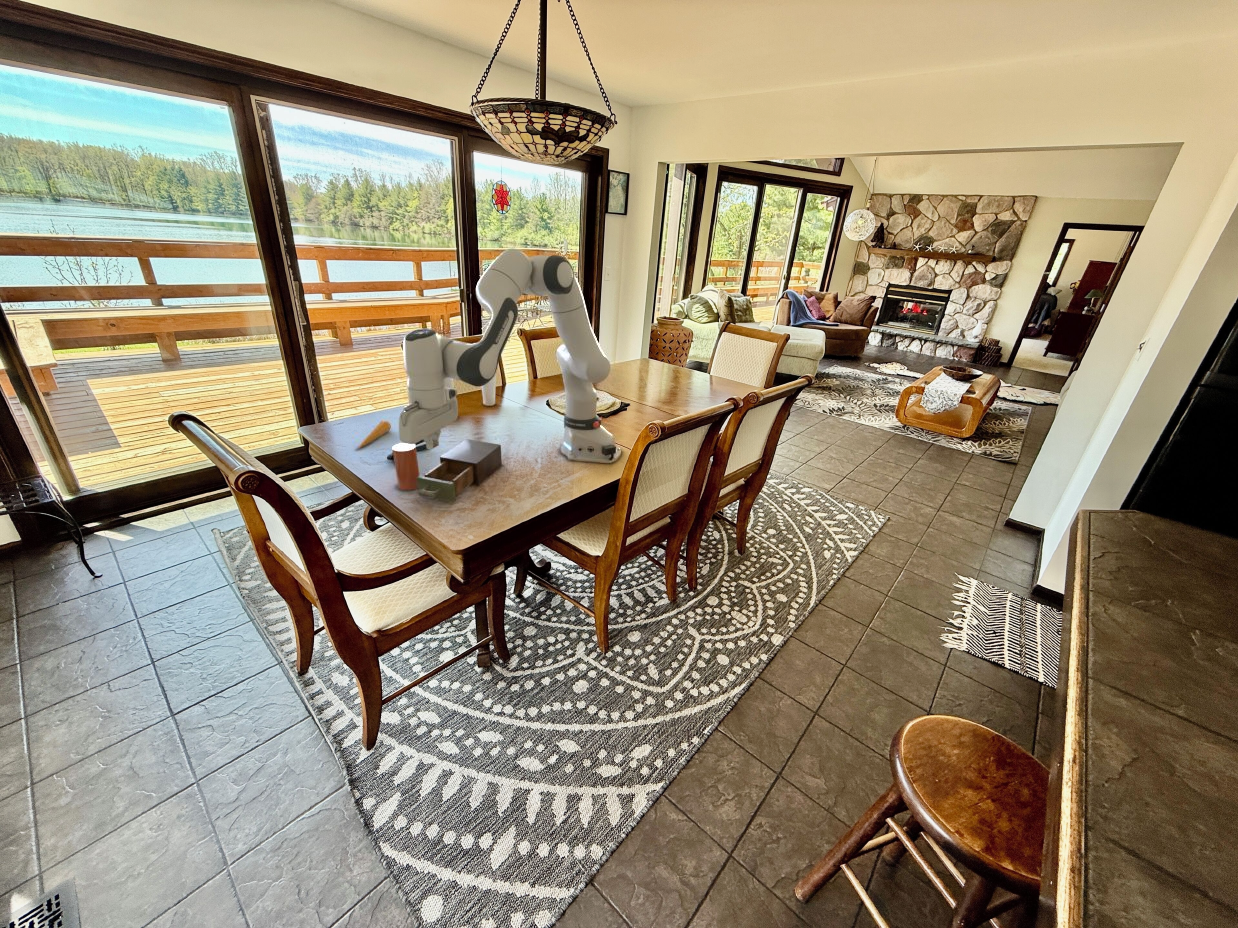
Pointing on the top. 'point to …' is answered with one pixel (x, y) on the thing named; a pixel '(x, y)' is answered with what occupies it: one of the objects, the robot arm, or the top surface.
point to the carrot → (377, 432)
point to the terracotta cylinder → (406, 465)
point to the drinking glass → (489, 392)
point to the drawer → (446, 480)
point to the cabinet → (476, 457)
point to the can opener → (418, 448)
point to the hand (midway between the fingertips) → (432, 447)
